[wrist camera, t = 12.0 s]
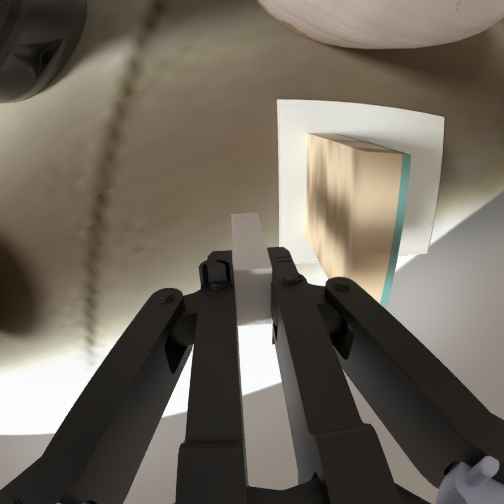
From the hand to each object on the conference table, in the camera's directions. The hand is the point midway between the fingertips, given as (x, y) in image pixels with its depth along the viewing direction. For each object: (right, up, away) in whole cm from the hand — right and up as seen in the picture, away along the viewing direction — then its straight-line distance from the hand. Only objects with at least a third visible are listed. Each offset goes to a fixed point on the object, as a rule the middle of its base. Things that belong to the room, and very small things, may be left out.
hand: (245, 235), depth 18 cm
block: (+7, +5, +9) cm, 12 cm away
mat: (+12, +6, +10) cm, 16 cm away
